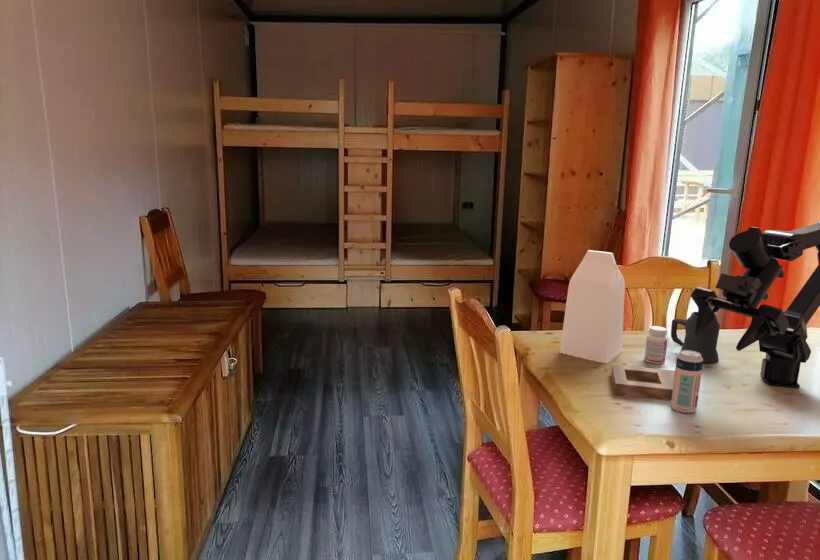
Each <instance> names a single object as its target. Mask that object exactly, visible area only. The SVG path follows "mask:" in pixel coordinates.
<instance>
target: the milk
mask: <svg viewBox="0 0 820 560" xmlns="http://www.w3.org/2000/svg"><path fill="white" fill-rule="evenodd" d="M625 291H626V282H625V278H624V275H623V274H622V272H621V271H620V268H619V266H618V265H617V261H616V258H615V256H614V252H609V251H599V250H591V249H588V250H587V252H586V253H585V255H584V256H583V258H582V261H581V262H580V263H579V265H578V266H577V268H576V269H575V271H574V272H573V274H572V276H571V278H570V280H569V283H568V289H567V295H566V297H567V298H566V303H565V310H564V318H563V325H562V332H561V342H560V348H559V354H562V353H563V355H566V354H567V356H571V355H572V357H575V358H579V357H580V359H584V360H589V361H592V360H593V361H592V362H598V363H601V362H602V363H601V364H605V363H607V364H608V363H610V362H611V361H612V360H613V359H614V358H616V357H617V356H619V353H620V354H621V353H623V338H624V337H623V335H624V314H625V310H624V309H625Z"/></svg>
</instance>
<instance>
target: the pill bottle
mask: <svg viewBox="0 0 820 560" xmlns="http://www.w3.org/2000/svg"><path fill="white" fill-rule="evenodd" d="M667 333H668V329H667V328H666V327H664V326H659V325H652V326H649V330H648V334H647V336H646V341H645V350H644V358H643V359H644V360H645V362H647V363H650V364H656V365H662V364H665V362H666V356H667V355H666V354H667V347H668V336H667Z"/></svg>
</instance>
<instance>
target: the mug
mask: <svg viewBox="0 0 820 560" xmlns="http://www.w3.org/2000/svg"><path fill="white" fill-rule="evenodd" d="M697 318H698V311H693V312H691V314H690V316H689V317H688V318H686V319H683V318H673V319H672V320H671V328H670V336H671V340H672V342H674V343H676V344H677V345H679V346H681V348H680V351H681V350H692V351H696V352H699V353H700V354H701V356H702V358H703V365H705V364H707V365H713V364H717V363H718V362H719V359H720V358H719V354H718V349H717V345H718V339H719V335H720V328H721V325H720V323H719V320H718V316H717V315H716V316H715V318H714V319H713V320H712V321H711V323H710V324H709V325H708V326H707V327H706V329H705V330H704V331H703V332H702V333H701V334H700V335H699V336H698V337H697V336H695V334H694V333H695V328H696V323H697ZM678 325H682V326H684V330H685V335H684V341H682V339H680V338H679V337H678V332H677V331H678Z"/></svg>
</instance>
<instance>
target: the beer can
mask: <svg viewBox="0 0 820 560" xmlns="http://www.w3.org/2000/svg"><path fill="white" fill-rule="evenodd" d="M703 365H704V364H703V358H702V356H701V354H700V353H699V352H696V351H692V350H681V349H680V351H679V352H678V353H677V355H676V359H675V369H674V371H675V376H674V384H673V392H672V400H671V401H670V407H671V408H672V409H673V410H675V411H676V412H678V413H682V414H692V413H694V412H697V409H698V403H699V402H698V401H699V395H700V386H701V378H702V372H703Z"/></svg>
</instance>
